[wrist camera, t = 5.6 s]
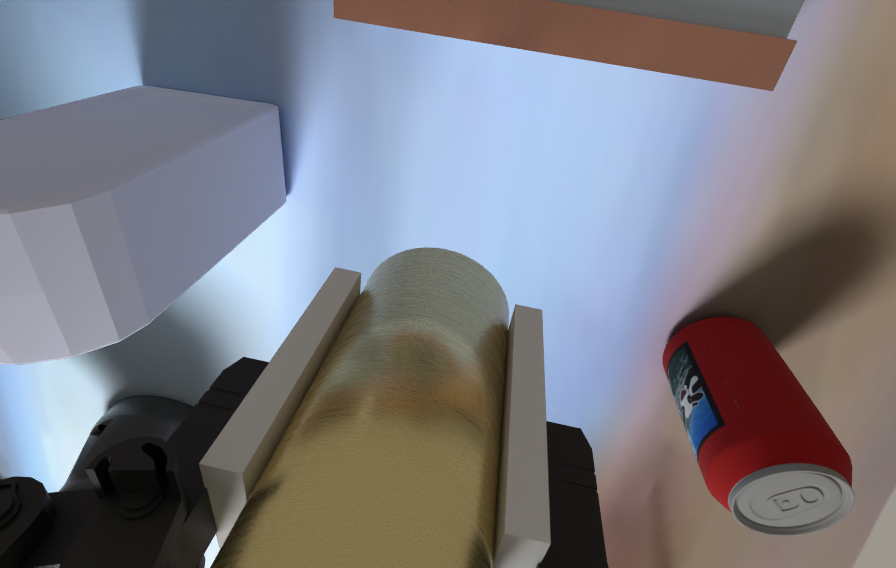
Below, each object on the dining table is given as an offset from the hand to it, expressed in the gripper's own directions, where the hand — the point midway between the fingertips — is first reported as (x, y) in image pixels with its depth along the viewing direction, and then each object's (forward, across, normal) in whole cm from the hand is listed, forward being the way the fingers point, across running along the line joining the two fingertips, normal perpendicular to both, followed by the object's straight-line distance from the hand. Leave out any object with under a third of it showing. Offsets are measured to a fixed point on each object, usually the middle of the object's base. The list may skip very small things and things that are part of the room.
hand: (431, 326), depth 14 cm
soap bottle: (+17, -17, -3) cm, 24 cm away
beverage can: (+17, +18, -10) cm, 27 cm away
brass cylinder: (+1, 0, 0) cm, 1 cm away
